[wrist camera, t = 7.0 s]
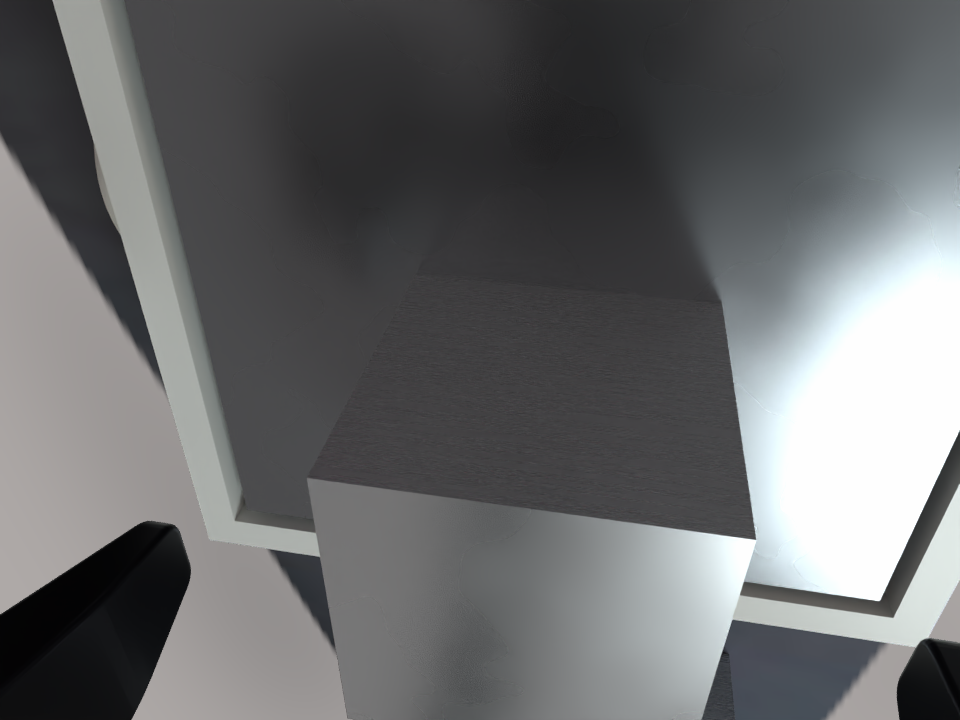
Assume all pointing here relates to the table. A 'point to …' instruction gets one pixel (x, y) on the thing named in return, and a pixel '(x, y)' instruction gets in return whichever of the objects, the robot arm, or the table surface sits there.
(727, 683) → the block
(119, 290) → the table surface
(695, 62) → the pan
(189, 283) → the base
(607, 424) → the block
